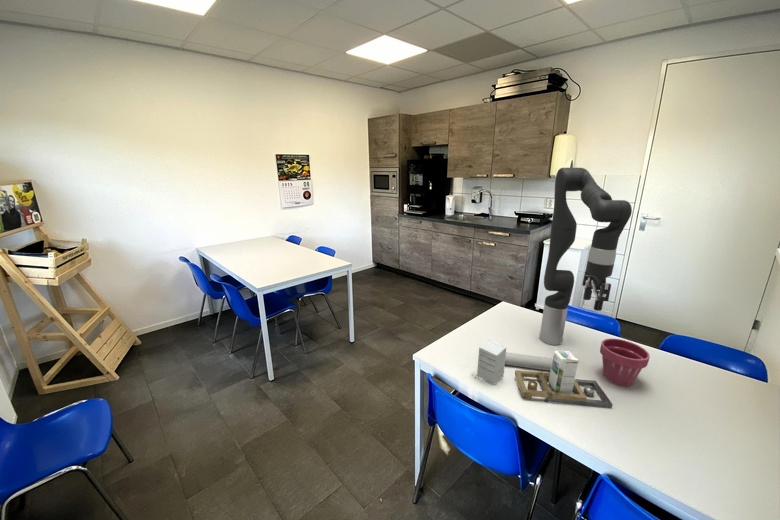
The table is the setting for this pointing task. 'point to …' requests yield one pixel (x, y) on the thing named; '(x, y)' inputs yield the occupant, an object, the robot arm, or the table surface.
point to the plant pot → (622, 361)
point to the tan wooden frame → (545, 387)
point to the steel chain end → (588, 391)
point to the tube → (528, 361)
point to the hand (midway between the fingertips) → (591, 304)
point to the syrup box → (563, 372)
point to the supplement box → (491, 362)
